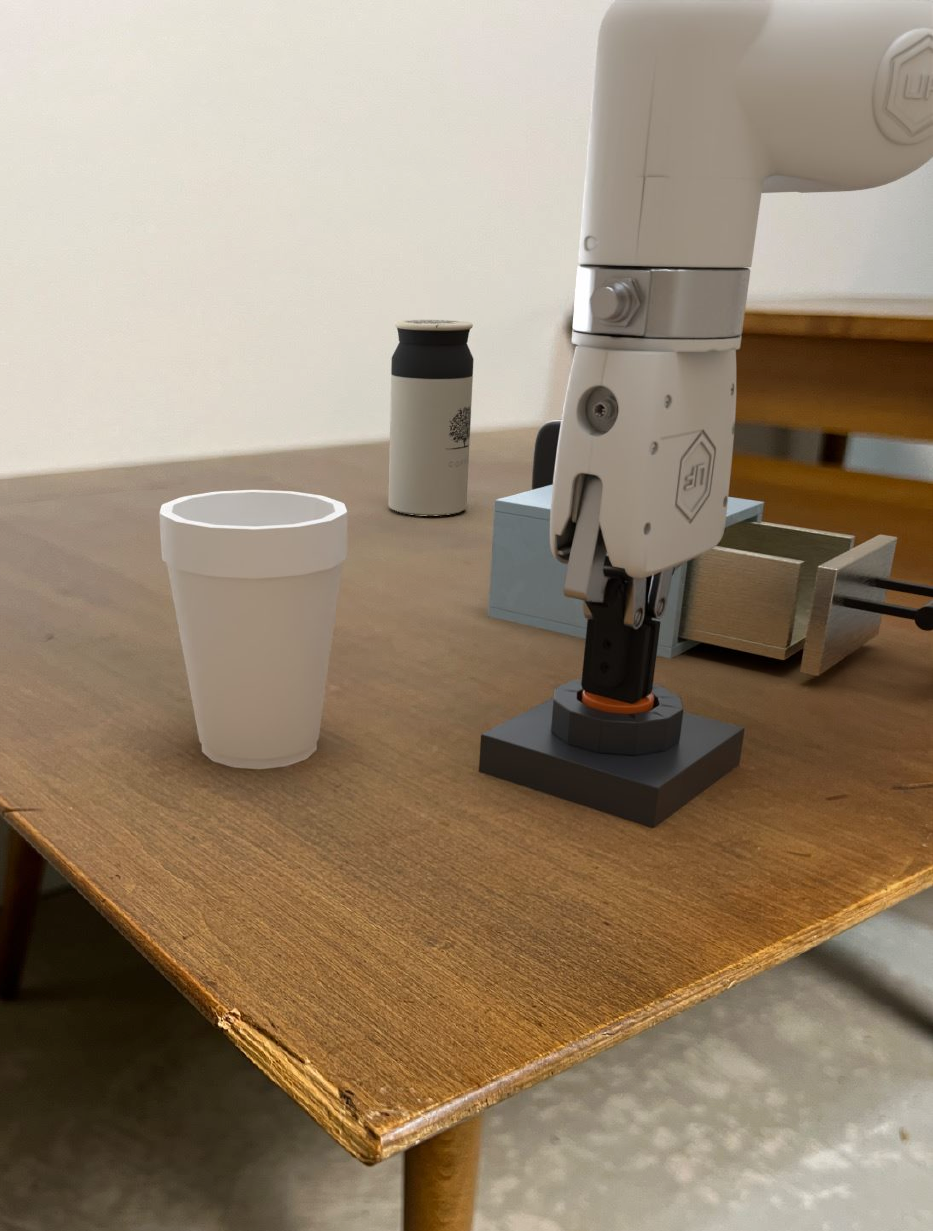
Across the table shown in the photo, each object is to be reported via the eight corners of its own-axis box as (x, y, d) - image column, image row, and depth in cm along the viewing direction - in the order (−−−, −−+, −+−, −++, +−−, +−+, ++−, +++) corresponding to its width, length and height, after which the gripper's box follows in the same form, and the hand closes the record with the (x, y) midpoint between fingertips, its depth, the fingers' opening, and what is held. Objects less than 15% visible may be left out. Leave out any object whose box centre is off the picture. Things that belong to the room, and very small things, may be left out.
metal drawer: (967, 652, 79) (991, 550, 76) (914, 698, 71) (938, 586, 68) (695, 598, 90) (707, 507, 87) (622, 632, 82) (633, 534, 79)
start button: (662, 723, 62) (666, 692, 62) (629, 744, 60) (633, 711, 59) (601, 707, 64) (604, 676, 64) (566, 726, 62) (569, 694, 61)
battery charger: (610, 551, 107) (624, 419, 102) (603, 560, 104) (617, 425, 99) (533, 543, 109) (543, 414, 105) (524, 553, 106) (534, 419, 101)
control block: (739, 765, 64) (750, 695, 62) (653, 829, 57) (662, 752, 55) (575, 719, 70) (581, 654, 68) (478, 772, 63) (482, 701, 61)
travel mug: (372, 508, 123) (375, 320, 115) (427, 498, 127) (433, 318, 120) (426, 521, 117) (433, 325, 110) (482, 510, 122) (492, 322, 115)
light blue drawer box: (747, 618, 89) (764, 501, 85) (670, 659, 80) (686, 531, 76) (574, 582, 97) (583, 475, 94) (487, 616, 88) (494, 499, 85)
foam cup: (136, 754, 64) (119, 511, 59) (244, 703, 71) (238, 483, 66) (277, 797, 59) (273, 538, 54) (378, 739, 66) (383, 504, 61)
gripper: (658, 322, 46) (610, 756, 54) (801, 310, 57) (744, 674, 65) (496, 312, 51) (472, 715, 58) (657, 302, 61) (619, 644, 69)
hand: (615, 692), depth 61 cm, fingers closed
